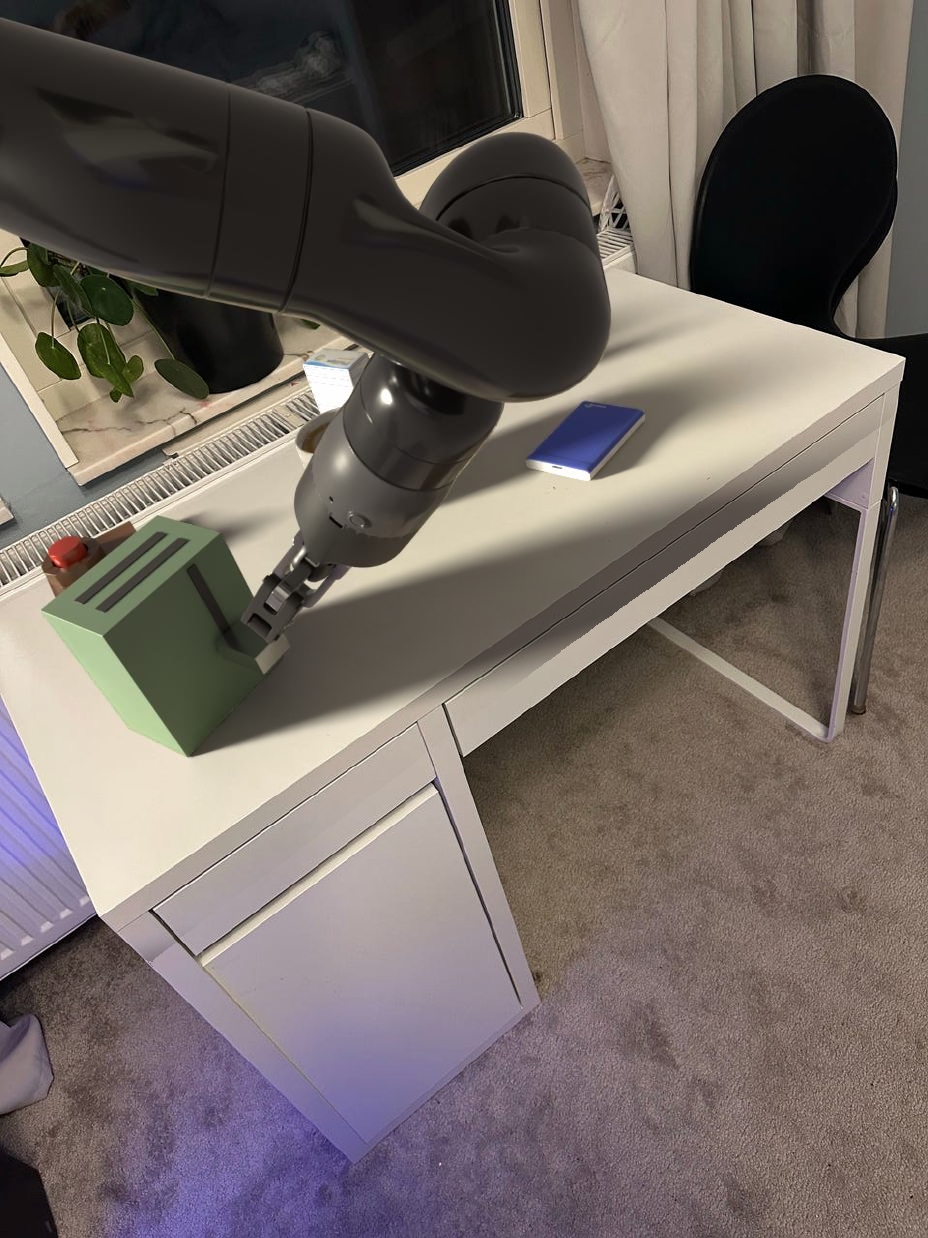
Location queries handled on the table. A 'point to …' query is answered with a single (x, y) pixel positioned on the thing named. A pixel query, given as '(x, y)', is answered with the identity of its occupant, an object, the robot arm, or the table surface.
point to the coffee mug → (312, 435)
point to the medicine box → (334, 375)
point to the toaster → (160, 631)
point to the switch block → (86, 557)
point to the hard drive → (586, 440)
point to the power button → (67, 551)
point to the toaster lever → (250, 648)
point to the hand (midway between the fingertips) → (301, 590)
